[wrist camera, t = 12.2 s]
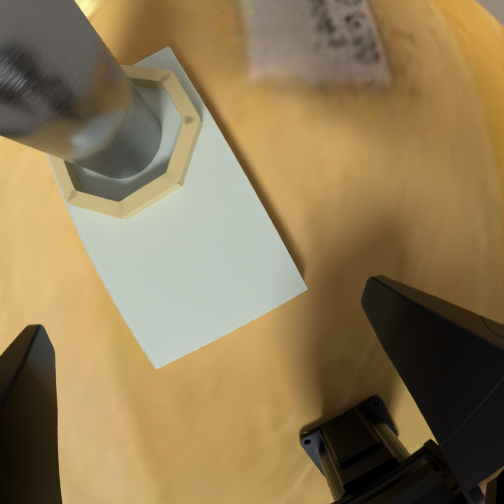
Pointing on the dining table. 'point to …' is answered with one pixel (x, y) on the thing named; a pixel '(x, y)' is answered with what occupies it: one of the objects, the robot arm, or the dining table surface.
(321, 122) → the dining table surface
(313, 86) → the dining table surface
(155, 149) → the grey metal peg
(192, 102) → the collar board
